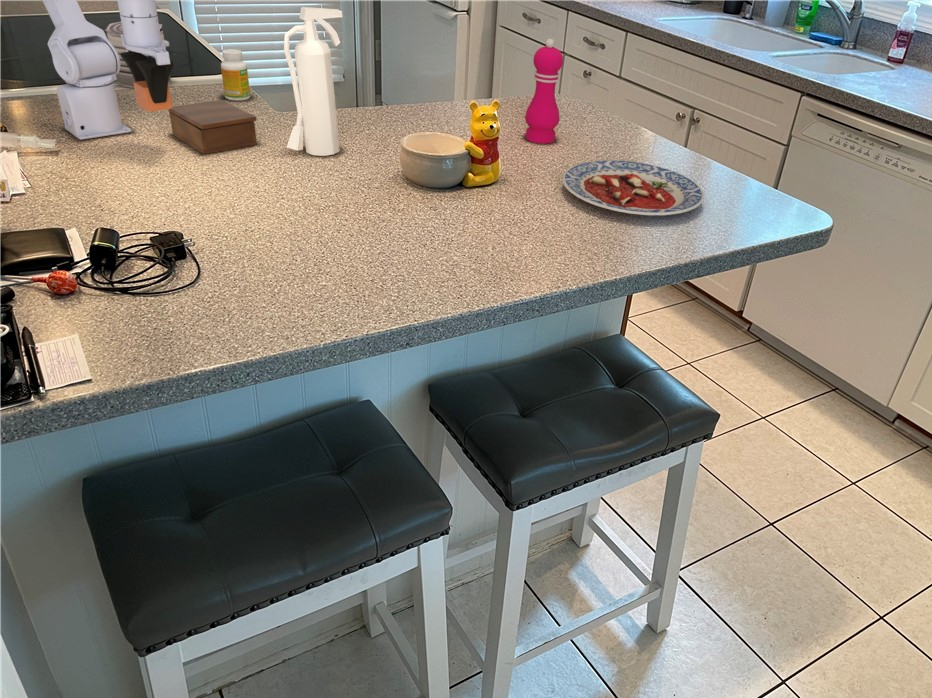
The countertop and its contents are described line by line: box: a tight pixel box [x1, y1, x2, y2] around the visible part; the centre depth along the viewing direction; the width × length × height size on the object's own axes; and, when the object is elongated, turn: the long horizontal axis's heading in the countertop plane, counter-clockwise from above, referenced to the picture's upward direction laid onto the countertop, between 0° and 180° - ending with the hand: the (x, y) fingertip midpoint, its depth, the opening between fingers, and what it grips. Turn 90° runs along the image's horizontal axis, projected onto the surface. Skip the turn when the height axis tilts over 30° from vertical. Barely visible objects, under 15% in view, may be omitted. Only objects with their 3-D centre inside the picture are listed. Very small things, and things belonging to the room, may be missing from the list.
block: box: [133, 81, 174, 113], centre depth 135 cm, size 4×4×4 cm
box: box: [168, 111, 258, 155], centre depth 147 cm, size 13×11×4 cm
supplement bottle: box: [220, 48, 251, 102], centre depth 168 cm, size 5×5×10 cm
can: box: [104, 21, 172, 89], centre depth 171 cm, size 11×11×12 cm
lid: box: [168, 99, 257, 129], centre depth 145 cm, size 14×11×1 cm
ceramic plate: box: [561, 159, 705, 216], centre depth 140 cm, size 26×26×3 cm
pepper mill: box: [524, 38, 564, 145], centre depth 159 cm, size 7×7×20 cm
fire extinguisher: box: [283, 6, 343, 157], centre depth 140 cm, size 7×12×25 cm, turn 123°
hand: (153, 98), depth 136 cm, fingers closed on block, 4 cm apart
